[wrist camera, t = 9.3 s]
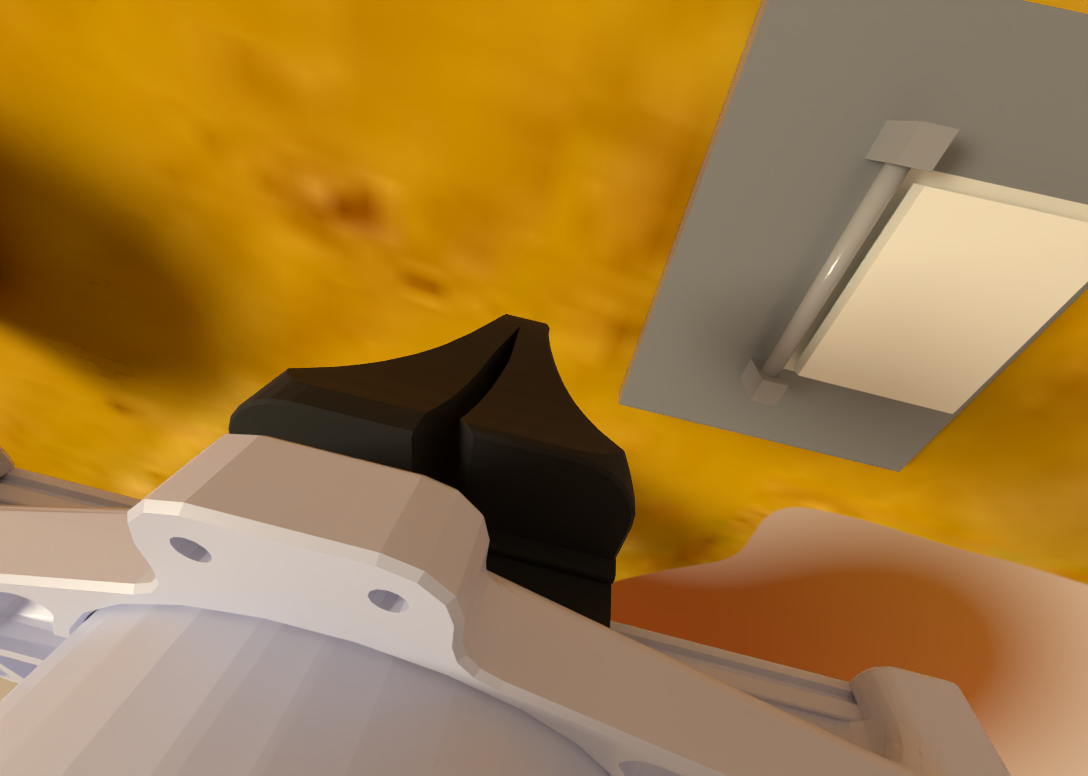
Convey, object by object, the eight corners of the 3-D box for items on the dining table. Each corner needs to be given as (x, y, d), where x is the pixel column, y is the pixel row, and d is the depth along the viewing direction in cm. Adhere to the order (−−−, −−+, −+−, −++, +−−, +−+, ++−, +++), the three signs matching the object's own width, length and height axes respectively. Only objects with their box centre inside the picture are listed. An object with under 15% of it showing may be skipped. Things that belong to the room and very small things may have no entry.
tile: (798, 375, 18) (792, 366, 19) (952, 414, 18) (941, 403, 19) (925, 185, 14) (912, 182, 14) (1136, 233, 13) (1113, 227, 14)
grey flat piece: (888, 459, 23) (920, 500, 21) (618, 393, 23) (618, 426, 21) (1273, 66, 13) (1429, 54, 10) (776, -39, 13) (811, -75, 11)
